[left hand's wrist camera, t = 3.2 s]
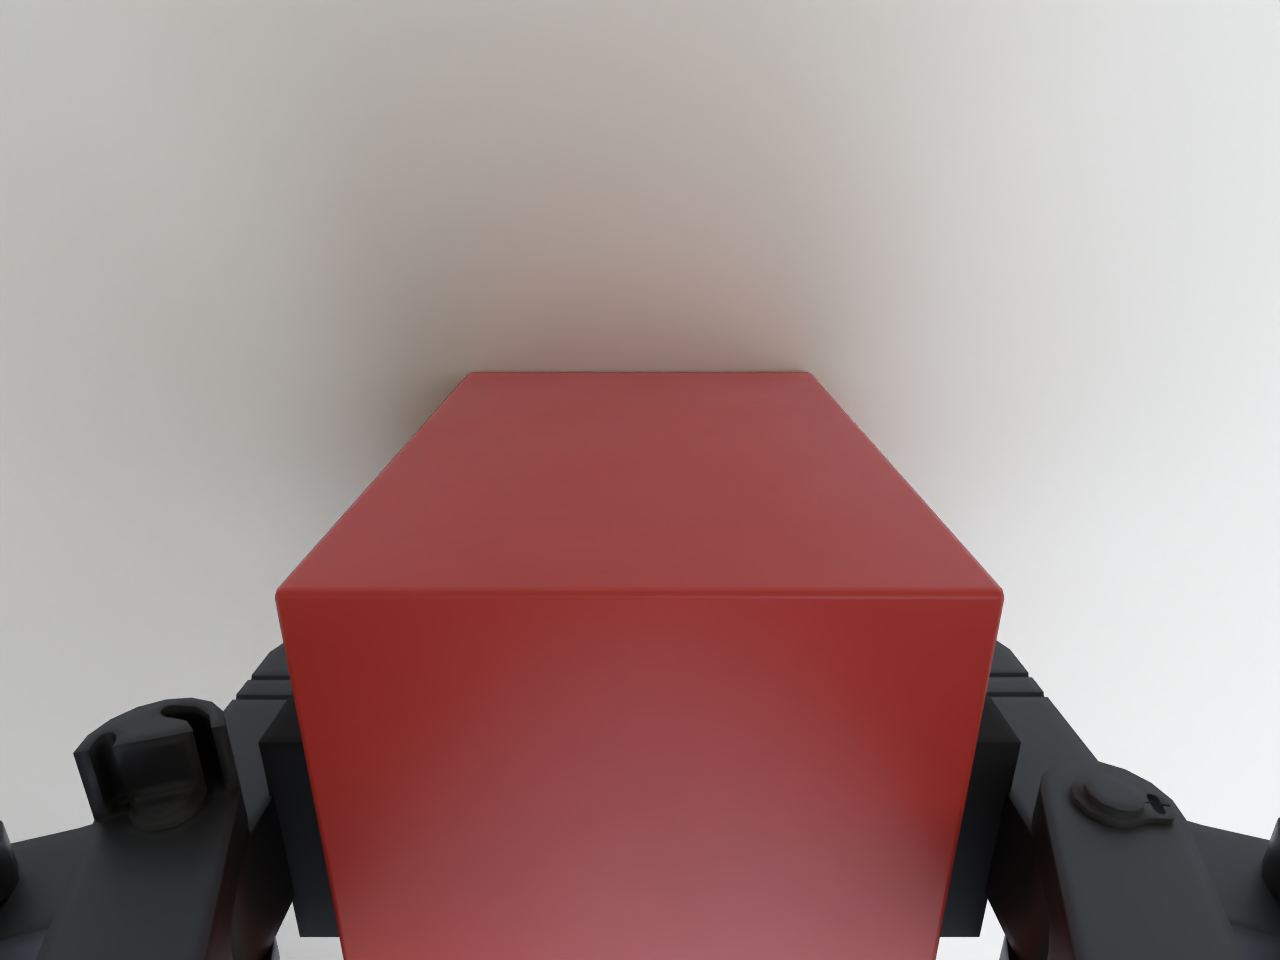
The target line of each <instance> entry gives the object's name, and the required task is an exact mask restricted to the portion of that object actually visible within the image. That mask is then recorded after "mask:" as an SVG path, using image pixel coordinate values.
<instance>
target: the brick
mask: <svg viewBox="0 0 1280 960" xmlns="http://www.w3.org/2000/svg"><path fill="white" fill-rule="evenodd" d="M275 601H276V606H277V611H278V617H279V622H280V627H281V632H282V638H283V643H284V648H285V653H286V659H287V664H288V669H289V674H290V680H291V685H292V690H293V695H294V701H295V706H296V711H297V716H298V722H299V727H300V732H301V737H302V743H303V748H304V753H305V758H306V764H307V769H308V774H309V779H310V785H311V790H312V795H313V800H314V806H315V811H316V816H317V821H318V827H319V832H320V837H321V842H322V848H323V853H324V858H325V863H326V869H327V874H328V879H329V884H330V890H331V895H332V900H333V905H334V911H335V916H336V921H337V926H338V932H339V937H340V942H341V947H342V953H343V958H344V960H936V954H937V949H938V944H939V938H940V933H941V928H942V923H943V917H944V912H945V907H946V902H947V896H948V891H949V886H950V881H951V875H952V870H953V865H954V860H955V854H956V849H957V844H958V839H959V833H960V828H961V823H962V817H963V812H964V807H965V802H966V796H967V791H968V786H969V781H970V775H971V770H972V765H973V760H974V754H975V749H976V744H977V739H978V733H979V728H980V723H981V717H982V712H983V707H984V702H985V696H986V691H987V686H988V681H989V675H990V670H991V665H992V660H993V654H994V649H995V644H996V639H997V633H998V628H999V623H1000V617H1001V612H1002V607H1003V602H1004V594H1003V590H1002V589H1001V587H1000V586H999V585H998V584H997V583H996V582H995V581H994V580H993V578H992V577H991V576H990V575H989V574H988V573H987V572H986V570H985V569H984V568H983V567H982V566H981V565H980V564H979V563H978V561H977V560H976V559H975V558H974V557H973V556H972V555H971V554H970V552H969V551H968V550H967V549H966V548H965V547H964V546H963V545H962V543H961V542H960V541H959V540H958V539H957V538H956V537H955V536H954V534H953V533H952V532H951V531H950V530H949V529H948V528H947V527H946V525H945V524H944V523H943V522H942V521H941V520H940V519H939V518H938V516H937V515H936V514H935V513H934V512H933V511H932V510H931V509H930V507H929V506H928V505H927V504H926V503H925V502H924V501H923V499H922V498H921V497H920V496H919V495H918V494H917V493H916V492H915V490H914V489H913V488H912V487H911V486H910V485H909V484H908V483H907V481H906V480H905V479H904V478H903V477H902V476H901V475H900V474H899V472H898V471H897V470H896V469H895V468H894V467H893V466H892V465H891V463H890V462H889V461H888V460H887V459H886V458H885V457H884V456H883V454H882V453H881V452H880V451H879V450H878V449H877V448H876V447H875V445H874V444H873V443H872V442H871V441H870V440H869V439H868V437H867V436H866V435H865V434H864V433H863V432H862V431H861V430H860V428H859V427H858V426H857V425H856V424H855V423H854V422H853V421H852V419H851V418H850V417H849V416H848V415H847V414H846V413H845V412H844V410H843V409H842V408H841V407H840V406H839V405H838V404H837V403H836V401H835V400H834V399H833V398H832V397H831V396H830V395H829V394H828V392H827V391H826V390H825V389H824V388H823V387H822V386H821V385H820V383H819V382H818V381H817V380H816V379H815V378H814V377H813V375H812V374H811V373H808V372H471V373H469V374H468V375H467V376H466V377H465V378H464V379H463V381H462V382H461V383H460V384H459V385H458V386H457V387H456V388H455V390H454V391H453V392H452V393H451V394H450V395H449V396H448V398H447V399H446V400H445V401H444V402H443V403H442V404H441V405H440V407H439V408H438V409H437V410H436V411H435V412H434V413H433V414H432V416H431V417H430V418H429V419H428V420H427V421H426V422H425V423H424V425H423V426H422V427H421V428H420V429H419V430H418V431H417V432H416V434H415V435H414V436H413V437H412V438H411V439H410V440H409V441H408V443H407V444H406V445H405V446H404V447H403V448H402V449H401V450H400V452H399V453H398V454H397V455H396V456H395V457H394V458H393V459H392V461H391V462H390V463H389V464H388V465H387V466H386V467H385V468H384V470H383V471H382V472H381V473H380V474H379V475H378V476H377V477H376V479H375V480H374V481H373V482H372V483H371V484H370V485H369V486H368V488H367V489H366V490H365V491H364V492H363V493H362V494H361V495H360V497H359V498H358V499H357V500H356V501H355V502H354V503H353V504H352V506H351V507H350V508H349V509H348V510H347V511H346V512H345V513H344V515H343V516H342V517H341V518H340V519H339V520H338V521H337V522H336V524H335V525H334V526H333V527H332V528H331V529H330V530H329V531H328V533H327V534H326V535H325V536H324V537H323V538H322V539H321V540H320V542H319V543H318V544H317V545H316V546H315V547H314V548H313V549H312V551H311V552H310V553H309V554H308V555H307V556H306V557H305V558H304V560H303V561H302V562H301V563H300V564H299V565H298V566H297V567H296V569H295V570H294V571H293V572H292V573H291V574H290V575H289V576H288V578H287V579H286V580H285V581H284V582H283V583H282V584H281V585H280V587H279V588H278V589H277V591H276V595H275Z"/></svg>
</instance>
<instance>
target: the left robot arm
mask: <svg viewBox="0 0 1280 960" xmlns="http://www.w3.org/2000/svg"><path fill="white" fill-rule="evenodd" d="M73 754H74V757H75V760H76V764H77V767H78V770H79V773H80V776H81V779H82V782H83V785H84V788H85V792H86V795H87V798H88V801H89V804H90V807H91V810H92V813H93V816H94V823H93V824H92V825H88V826H85V827H81V828H78V829H73V830H69V831H65V832H60V833H56V834H51V835H47V836H43V837H38V838H34V839H29V840H25V841H21V842H16V843H12V844H10V841H9V838H8V836H7V833H6V830H5V828H4V825H3V822H2V821H0V960H280V957H279V950H278V946H277V941H276V937H275V936H276V934H277V932H278V930H279V928H280V926H281V924H282V922H283V919H284V917H285V915H286V913H287V911H288V909H289V907H290V905H291V903H292V902H293V906H294V911H295V916H296V920H297V925H298V929H299V934H300V937H339V932H338V926H337V921H336V916H335V911H334V905H333V900H332V895H331V890H330V884H329V879H328V874H327V869H326V863H325V858H324V853H323V848H322V842H321V837H320V832H319V827H318V821H317V816H316V811H315V806H314V800H313V795H312V790H311V785H310V779H309V774H308V769H307V764H306V758H305V753H304V748H303V743H302V737H301V732H300V727H299V722H298V716H297V711H296V706H295V701H294V695H293V690H292V685H291V680H290V674H289V669H288V664H287V659H286V653H285V648H284V643H283V644H281V645H280V646H278V647H277V648H275V649H274V650H272V651H271V652H270V653H269V654H268V655H267V657H266V658H265V659H264V660H263V662H262V663H261V664H260V665H259V667H258V668H257V669H256V671H255V672H254V673H253V674H252V679H251V680H248V681H247V682H246V683H245V685H244V686H243V687H242V688H241V690H240V691H239V692H238V693H237V695H236V700H232V701H231V702H230V704H229V705H228V706H227V708H226V709H225V710H224V711H222V710H221V709H220V708H219V707H217V706H216V705H215V704H214V703H213V702H210V701H205V700H200V699H195V698H181V699H167V700H163V701H159V702H155V703H151V704H147V705H144V706H140V707H137V708H135V709H132V710H130V711H128V712H126V713H124V714H121V715H119V716H117V717H115V718H113V719H110V720H109V721H108V722H106V723H105V724H103V725H102V726H100V727H99V728H98V729H96V730H95V731H93V732H92V733H91V734H89V735H88V736H87V737H86V738H85V739H84V741H83V742H82V743H81V744H80V746H79V747H78V748H77V749H76V750H75V752H74V753H73ZM987 899H988V900H989V902H990V904H991V906H992V908H993V910H994V912H995V914H996V917H997V919H998V921H999V923H1000V925H1001V927H1002V929H1003V931H1004V933H1005V937H1004V941H1003V946H1002V950H1001V954H1000V959H999V960H1280V818H1278V820H1277V823H1276V826H1275V828H1274V831H1273V834H1272V836H1271V839H1270V840H1266V839H1261V838H1257V837H1252V836H1248V835H1244V834H1239V833H1235V832H1230V831H1226V830H1221V829H1217V828H1213V827H1208V826H1204V825H1200V824H1197V823H1193V822H1190V821H1186V819H1185V817H1184V816H1183V815H1182V813H1181V812H1180V810H1179V809H1178V807H1177V806H1176V805H1175V803H1174V802H1173V800H1172V799H1170V798H1169V797H1168V796H1167V795H1165V794H1164V793H1163V792H1162V791H1161V790H1159V789H1158V788H1157V787H1156V786H1154V785H1153V784H1152V783H1150V782H1148V781H1147V780H1145V779H1143V778H1141V777H1139V776H1137V775H1135V774H1133V773H1131V772H1129V771H1127V770H1125V769H1122V768H1119V767H1115V766H1112V765H1109V764H1105V763H1102V762H1099V761H1098V760H1097V759H1096V758H1095V757H1094V755H1093V754H1092V753H1091V752H1090V750H1089V749H1088V748H1087V746H1086V745H1085V744H1084V743H1083V741H1082V740H1081V739H1080V738H1079V736H1078V735H1077V734H1076V733H1075V731H1074V730H1073V729H1072V727H1071V726H1070V725H1069V724H1068V722H1067V721H1066V720H1065V719H1064V717H1063V716H1062V715H1061V714H1060V712H1059V711H1058V710H1057V708H1056V707H1055V706H1054V705H1053V703H1052V702H1051V701H1050V700H1049V698H1048V697H1044V692H1043V691H1042V689H1041V688H1040V687H1039V686H1038V684H1037V683H1036V682H1035V681H1034V679H1033V678H1032V677H1029V676H1028V672H1027V670H1026V669H1025V668H1024V667H1023V665H1022V664H1021V663H1020V662H1019V660H1018V659H1017V658H1016V657H1015V655H1014V654H1013V653H1012V651H1011V650H1010V649H1008V648H1007V647H1005V646H1004V645H1002V644H1001V643H999V642H998V641H996V644H995V649H994V654H993V660H992V665H991V670H990V675H989V681H988V686H987V691H986V696H985V702H984V707H983V712H982V717H981V723H980V728H979V733H978V739H977V744H976V749H975V754H974V760H973V765H972V770H971V775H970V781H969V786H968V791H967V796H966V802H965V807H964V812H963V817H962V823H961V828H960V833H959V839H958V844H957V849H956V854H955V860H954V865H953V870H952V875H951V881H950V886H949V891H948V896H947V902H946V907H945V912H944V917H943V923H942V928H941V933H940V937H979V936H980V932H981V927H982V922H983V918H984V913H985V908H986V904H987Z"/></svg>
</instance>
